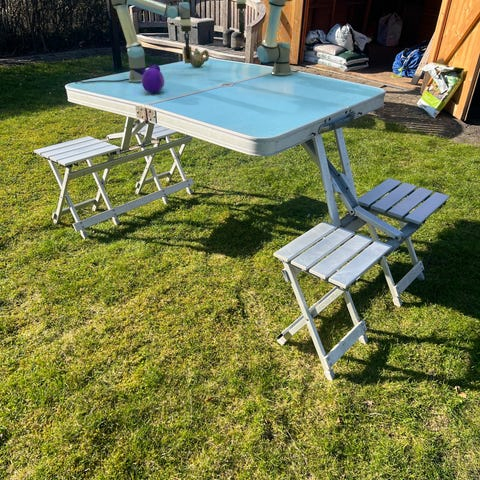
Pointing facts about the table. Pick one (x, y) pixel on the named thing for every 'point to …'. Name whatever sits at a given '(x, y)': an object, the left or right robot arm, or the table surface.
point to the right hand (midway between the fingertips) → (241, 33)
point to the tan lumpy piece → (199, 58)
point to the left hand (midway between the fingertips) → (188, 58)
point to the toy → (152, 79)
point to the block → (190, 55)
